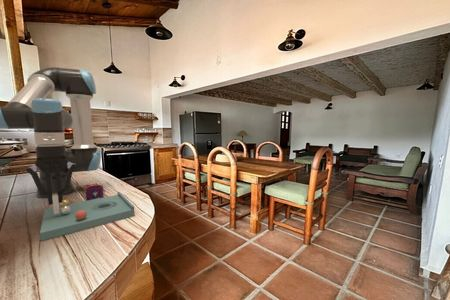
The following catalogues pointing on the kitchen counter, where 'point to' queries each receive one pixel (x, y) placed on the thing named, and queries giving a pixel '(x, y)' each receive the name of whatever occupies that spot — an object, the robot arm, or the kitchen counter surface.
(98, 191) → the mug
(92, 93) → the robot arm
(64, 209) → the steel ball
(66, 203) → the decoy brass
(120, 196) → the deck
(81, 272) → the kitchen counter surface
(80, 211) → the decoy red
